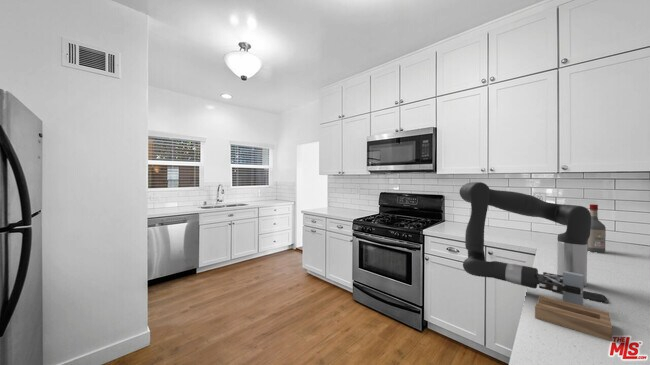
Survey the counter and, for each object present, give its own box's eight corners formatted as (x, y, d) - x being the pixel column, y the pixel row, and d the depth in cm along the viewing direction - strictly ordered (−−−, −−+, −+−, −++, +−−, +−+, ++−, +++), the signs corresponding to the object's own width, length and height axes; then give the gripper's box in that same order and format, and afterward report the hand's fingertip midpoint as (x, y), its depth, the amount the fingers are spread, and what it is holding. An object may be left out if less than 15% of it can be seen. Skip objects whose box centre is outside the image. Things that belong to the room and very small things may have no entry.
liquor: (608, 253, 159) (608, 205, 159) (590, 252, 161) (591, 204, 161) (595, 249, 168) (596, 204, 168) (579, 248, 170) (579, 203, 170)
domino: (563, 301, 91) (563, 270, 91) (582, 306, 88) (583, 274, 88) (562, 303, 90) (562, 272, 90) (582, 308, 86) (583, 276, 86)
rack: (539, 305, 88) (539, 295, 88) (608, 324, 77) (608, 312, 77) (534, 317, 80) (535, 306, 80) (611, 340, 68) (612, 327, 68)
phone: (608, 302, 90) (551, 289, 100) (608, 305, 90) (551, 292, 100) (604, 294, 96) (551, 283, 106) (604, 297, 96) (551, 286, 106)
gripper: (518, 269, 94) (580, 282, 82) (524, 261, 104) (581, 272, 92) (517, 290, 94) (580, 305, 82) (524, 280, 104) (580, 292, 92)
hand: (580, 288), depth 87 cm, fingers open, 8 cm apart
